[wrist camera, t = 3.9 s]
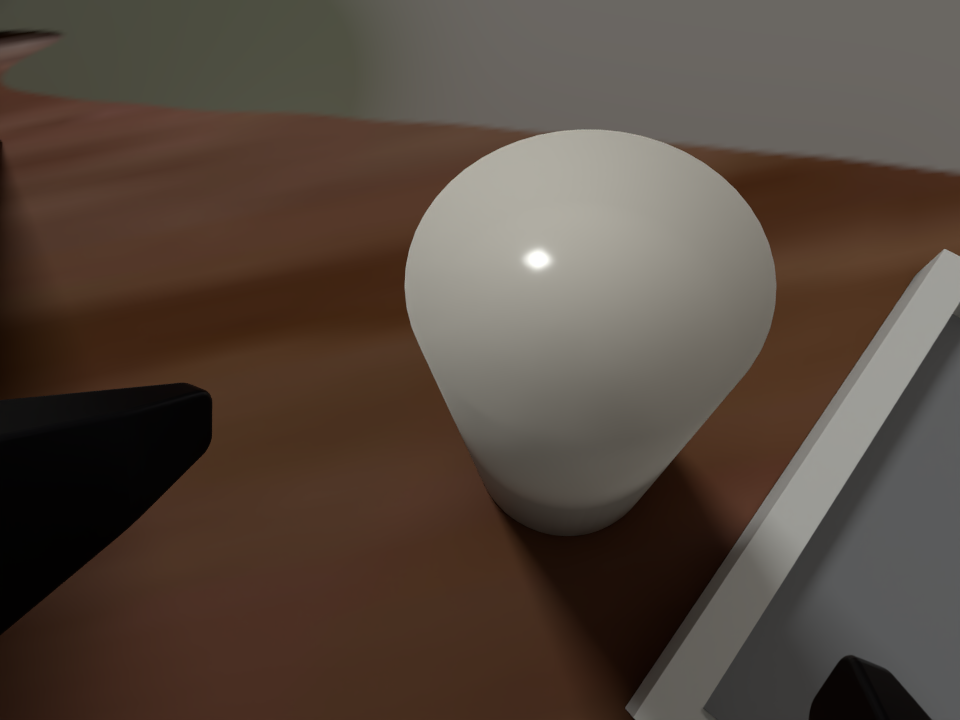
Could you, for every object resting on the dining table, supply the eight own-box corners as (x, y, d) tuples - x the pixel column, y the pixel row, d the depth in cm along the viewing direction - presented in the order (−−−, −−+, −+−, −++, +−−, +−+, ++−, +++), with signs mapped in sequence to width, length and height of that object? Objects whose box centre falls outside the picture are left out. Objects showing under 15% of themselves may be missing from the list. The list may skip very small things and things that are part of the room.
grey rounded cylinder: (581, 577, 18) (630, 531, 8) (440, 457, 20) (332, 297, 10) (689, 431, 19) (847, 234, 9) (547, 333, 21) (550, 84, 11)
